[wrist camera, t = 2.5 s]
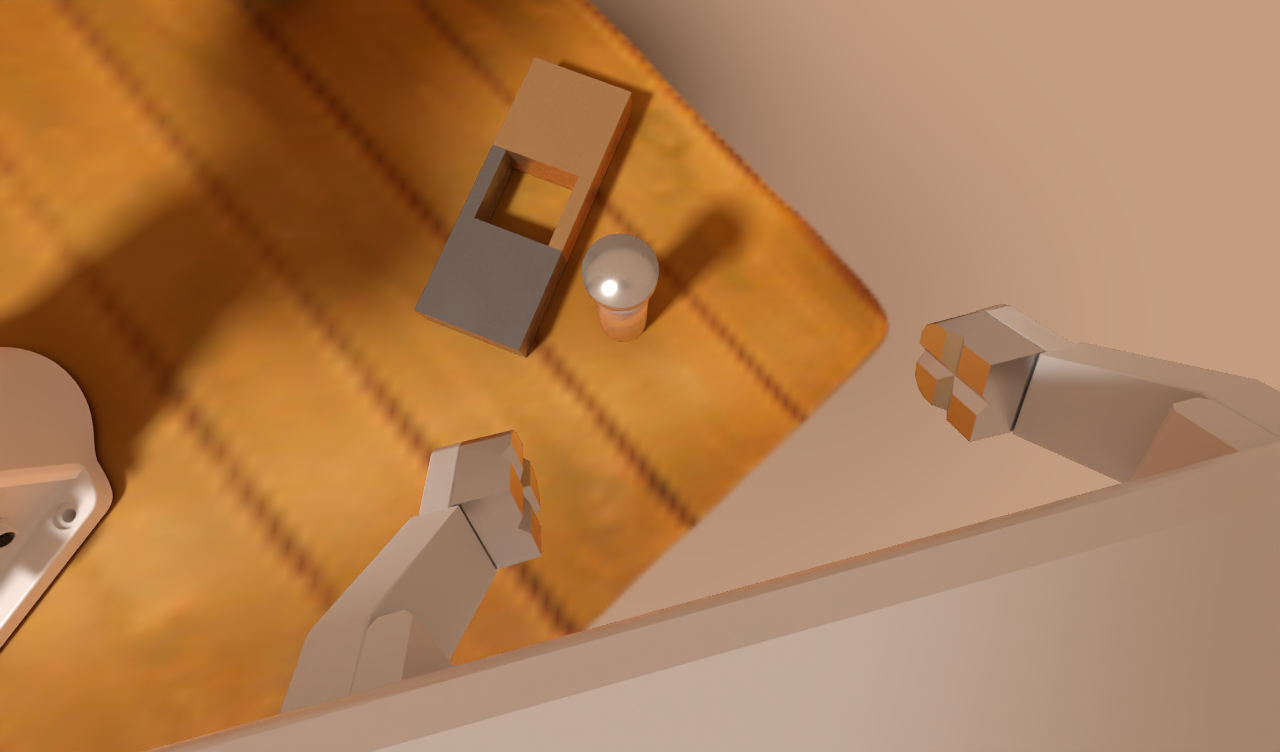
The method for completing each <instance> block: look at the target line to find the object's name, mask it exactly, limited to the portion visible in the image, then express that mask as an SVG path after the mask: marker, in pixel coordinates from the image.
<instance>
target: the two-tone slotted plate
mask: <svg viewBox="0 0 1280 752" xmlns="http://www.w3.org/2000/svg"><path fill="white" fill-rule="evenodd" d="M631 114H632V112H631V92H630V91H627V90H624V89H622V88H619V87H616V86H613V85H611V84H608V83H605V82H602V81H599V80H597V79H594V78H591V77H588V76H586V75H583V74H580V73H577V72H575V71H572V70H569V69H566V68H563V67H561V66H558V65H555V64H552V63H550V62H547V61H544V60H541V59H538V58H536V57H534V59H533V62H532V64H531V66H530V68H529V70H528V72H527V74H526V76H525V78H524V80H523V83H522V85H521V87H520V89H519V91H518V93H517V95H516V97H515V99H514V101H513V104H512V106H511V108H510V110H509V112H508V114H507V116H506V118H505V120H504V122H503V125H502V127H501V129H500V131H499V133H498V135H497V137H496V139H495V141H494V144H493V146H492V148H491V150H490V152H489V154H488V156H487V158H486V160H485V162H484V165H483V167H482V169H481V171H480V173H479V175H478V177H477V179H476V181H475V183H474V186H473V188H472V190H471V192H470V194H469V196H468V198H467V200H466V202H465V204H464V207H463V209H462V211H461V213H460V215H459V217H458V219H457V221H456V223H455V225H454V228H453V230H452V232H451V234H450V236H449V238H448V240H447V242H446V244H445V247H444V249H443V251H442V253H441V255H440V257H439V259H438V261H437V263H436V265H435V268H434V270H433V272H432V274H431V276H430V278H429V280H428V282H427V284H426V286H425V289H424V291H423V293H422V295H421V297H420V299H419V301H418V303H417V305H416V307H415V311H416V312H418V313H419V314H421V315H422V316H424V317H425V318H426V319H428V320H430V321H433V322H435V323H438V324H440V325H443V326H446V327H448V328H451V329H453V330H456V331H458V332H461V333H464V334H466V335H469V336H471V337H474V338H476V339H479V340H482V341H484V342H487V343H489V344H492V345H494V346H497V347H500V348H502V349H505V350H507V351H510V352H512V353H515V354H518V355H520V356H523V357H525V358H526V356H527V354H528V352H529V350H530V347H531V345H532V343H533V340H534V338H535V336H536V333H537V331H538V329H539V326H540V324H541V322H542V320H543V317H544V315H545V313H546V310H547V308H548V306H549V303H550V301H551V299H552V296H553V294H554V292H555V290H556V287H557V285H558V283H559V280H560V278H561V276H562V273H563V271H564V269H565V266H566V264H567V262H568V260H569V257H570V255H571V253H572V250H573V248H574V246H575V243H576V241H577V239H578V236H579V234H580V232H581V230H582V227H583V225H584V223H585V220H586V218H587V216H588V213H589V211H590V209H591V206H592V204H593V202H594V200H595V197H596V195H597V193H598V190H599V188H600V186H601V183H602V181H603V179H604V176H605V174H606V172H607V170H608V167H609V165H610V163H611V160H612V158H613V156H614V153H615V151H616V149H617V146H618V144H619V142H620V140H621V137H622V135H623V133H624V130H625V128H626V126H627V123H628V121H629V119H630V116H631ZM514 169H517V170H519V171H522V172H525V173H527V174H530V175H533V176H536V177H538V178H541V179H544V180H546V181H549V182H552V183H554V184H557V185H560V186H562V187H565V188H568V189H571V190H573V191H572V193H571V195H570V197H569V200H568V202H567V204H566V207H565V209H564V211H563V213H562V216H561V218H560V220H559V222H558V225H557V227H556V229H555V231H554V234H553V236H552V238H551V240H550V243H549V245H548V246H547V245H545V244H542V243H539V242H537V241H534V240H531V239H529V238H526V237H523V236H521V235H518V234H516V233H513V232H510V231H508V230H505V229H502V228H500V227H497V226H494V225H492V224H489V221H490V219H491V217H492V215H493V213H494V211H495V209H496V206H497V204H498V202H499V200H500V198H501V196H502V193H503V191H504V189H505V187H506V185H507V183H508V181H509V178H510V176H511V174H512V172H513V170H514Z"/></svg>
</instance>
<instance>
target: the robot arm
mask: <svg viewBox="0 0 1280 752" xmlns="http://www.w3.org/2000/svg"><path fill="white" fill-rule="evenodd" d="M920 344H921V345H922V346H923V347H924V349H925V352H924V353H923V354H922V355H921V357H920V358H919V359H918V360H917V363H916V372H915V377H916V381H917V385H918V388H919V390H920V392H921V393H922V395H923V397H924V398H925V399H926V400H927V401H928V402H929V403H930V404H931V405H933V406H935V407H938V408H941V409H944V410H947V420H948V422H950V423H951V424H952V425H953V426H954V427H955V428H956V429H957V430H958V431H959V432H960V433H961V434H962V435H963V436H964V437H965V438H966V439H967V440H968V441H969V442H972V441H976V440H980V439H984V438H989V437H993V436H996V435H1001V434H1005V433H1009V432H1013V434H1014V435H1016V436H1019V437H1021V438H1023V439H1025V440H1028V441H1030V442H1032V443H1035V444H1037V445H1039V446H1042V447H1043V448H1046V449H1048V450H1050V451H1052V452H1054V453H1057V454H1059V455H1061V456H1064V457H1066V458H1068V459H1070V460H1072V461H1075V462H1077V463H1079V464H1081V465H1084V466H1086V467H1088V468H1090V469H1092V470H1095V471H1097V472H1099V473H1102V474H1104V475H1106V476H1108V477H1110V478H1113V479H1115V480H1117V481H1119V482H1121V484H1117V485H1114V486H1110V487H1106V488H1103V489H1099V490H1095V491H1092V492H1089V493H1084V494H1081V495H1077V496H1074V497H1070V498H1066V499H1063V500H1059V501H1056V502H1052V503H1048V504H1044V505H1041V506H1037V507H1034V508H1030V509H1026V510H1023V511H1019V512H1016V513H1012V514H1008V515H1004V516H1001V517H997V518H994V519H990V520H986V521H983V522H979V523H975V524H972V525H968V526H965V527H961V528H957V529H954V530H950V531H946V532H943V533H939V534H935V535H932V536H929V537H924V538H921V539H917V540H914V541H910V542H906V543H903V544H899V545H895V546H892V547H888V548H884V549H881V550H877V551H873V552H870V553H866V554H862V555H859V556H855V557H851V558H848V559H845V560H840V561H837V562H833V563H829V564H826V565H822V566H818V567H815V568H811V569H808V570H804V571H800V572H797V573H793V574H789V575H786V576H782V577H778V578H775V579H771V580H768V581H764V582H760V583H757V584H753V585H749V586H745V587H742V588H738V589H735V590H731V591H727V592H724V593H720V594H716V595H713V596H709V597H705V598H702V599H698V600H694V601H691V602H687V603H683V604H680V605H676V606H673V607H669V608H666V609H661V610H658V611H654V612H651V613H647V614H643V615H640V616H636V617H633V618H629V619H626V620H622V621H618V622H614V623H610V624H607V625H603V626H600V627H596V628H592V629H589V630H585V631H581V632H578V633H574V634H570V635H567V636H563V637H559V638H556V639H552V640H548V641H545V642H541V643H537V644H534V645H530V646H527V647H523V648H519V649H516V650H512V651H508V652H505V653H501V654H497V655H494V656H490V657H486V658H483V659H479V660H475V661H472V662H468V663H465V664H461V665H457V666H454V665H453V664H452V663H451V661H450V658H451V656H452V654H453V653H454V651H455V649H456V647H457V645H458V643H459V642H460V640H461V638H462V636H463V634H464V632H465V630H466V629H467V627H468V625H469V623H470V621H471V619H472V618H473V616H474V614H475V612H476V610H477V608H478V607H479V605H480V603H481V601H482V599H483V597H484V596H485V594H486V592H487V590H488V588H489V586H490V585H491V583H492V581H493V579H494V577H495V575H496V573H497V571H496V570H497V569H500V568H503V567H507V566H510V565H513V564H517V563H520V562H524V561H527V560H530V559H534V558H537V557H540V556H542V550H541V526H540V524H539V522H538V519H537V517H536V513H537V512H538V510H539V509H540V496H539V490H538V485H537V480H536V477H535V474H534V470H533V468H532V466H531V463H530V461H528V460H526V459H524V458H523V444H522V442H521V440H520V438H519V436H518V434H517V432H516V431H514V430H511V431H507V432H502V433H498V434H494V435H489V436H485V437H481V438H476V439H472V440H468V441H464V442H462V443H456V444H452V445H448V446H444V447H440V448H436V449H435V450H434V451H433V452H432V454H431V458H430V463H429V468H428V473H427V478H426V483H425V488H424V492H423V497H422V502H421V507H420V512H419V516H415V517H411V518H410V519H409V520H408V521H407V522H406V524H405V525H404V526H403V527H402V528H401V529H400V530H399V531H398V532H397V534H396V535H395V536H394V537H393V538H392V539H391V540H390V541H389V543H388V544H387V545H386V546H385V547H384V548H383V549H382V550H381V552H380V553H379V554H378V555H377V556H376V557H375V558H374V559H373V561H372V562H371V563H370V564H369V565H368V566H367V567H366V568H365V570H364V571H363V572H362V573H361V574H360V575H359V576H358V577H357V578H356V580H355V581H354V582H353V583H352V584H351V585H350V586H349V587H348V589H347V590H346V591H345V592H344V593H343V594H342V595H341V596H340V598H339V599H338V600H337V601H336V602H335V603H334V604H333V605H332V607H331V608H330V609H329V610H328V611H327V612H326V613H325V614H324V616H323V617H322V618H321V619H320V620H319V621H318V622H317V623H316V624H315V626H314V627H313V628H312V629H311V630H310V631H309V632H308V634H307V637H306V640H305V642H304V645H303V648H302V651H301V654H300V657H299V660H298V663H297V666H296V668H295V671H294V674H293V677H292V680H291V683H290V686H289V689H288V692H287V695H286V697H285V700H284V703H283V706H282V709H281V712H280V714H279V715H275V716H271V717H268V718H264V719H260V720H257V721H253V722H250V723H246V724H242V725H239V726H235V727H231V728H228V729H224V730H220V731H217V732H213V733H210V734H206V735H202V736H199V737H195V738H191V739H188V740H184V741H181V742H177V743H173V744H170V745H166V746H162V747H159V748H155V749H151V750H148V751H144V752H1280V391H1278V390H1276V389H1274V388H1272V387H1270V386H1268V385H1266V384H1264V383H1262V382H1260V381H1258V380H1255V379H1251V378H1246V377H1242V376H1237V375H1232V374H1228V373H1223V372H1218V371H1214V370H1209V369H1204V368H1199V367H1195V366H1190V365H1185V364H1181V363H1176V362H1171V361H1167V360H1162V359H1157V358H1153V357H1148V356H1143V355H1139V354H1134V353H1129V352H1125V351H1120V350H1115V349H1111V348H1106V347H1101V346H1097V345H1092V344H1087V343H1079V344H1073V343H1072V342H1070V341H1068V340H1067V339H1065V338H1063V337H1062V336H1060V335H1058V334H1057V333H1055V332H1054V331H1052V330H1050V329H1048V328H1047V327H1045V326H1044V325H1042V324H1040V323H1039V322H1037V321H1035V320H1034V319H1032V318H1030V317H1029V316H1027V315H1026V314H1024V313H1022V312H1021V311H1019V310H1017V309H1016V308H1014V307H1012V306H1010V305H1005V304H999V305H996V306H992V307H989V308H985V309H982V310H978V311H976V312H974V313H969V314H966V315H962V316H958V317H954V318H950V319H946V320H943V321H939V322H935V323H931V324H927V325H926V326H925V328H924V330H923V331H922V335H921V340H920ZM112 497H113V496H112V489H111V486H110V483H109V481H108V479H107V477H106V475H105V473H104V472H103V470H102V468H101V466H100V465H99V463H98V461H97V458H96V454H95V447H94V432H93V423H92V417H91V413H90V410H89V406H88V404H87V401H86V399H85V397H84V395H83V393H82V391H81V389H80V388H79V386H78V385H77V383H76V382H75V381H74V379H73V378H72V377H71V376H70V375H69V374H68V373H67V372H66V371H65V370H64V369H63V368H62V367H60V366H59V365H58V364H56V363H55V362H53V361H52V360H50V359H48V358H46V357H44V356H42V355H40V354H37V353H35V352H32V351H28V350H24V349H19V348H12V347H0V648H1V646H2V645H3V644H4V643H5V641H6V640H7V639H8V637H9V636H10V635H11V634H12V632H13V631H14V630H15V628H16V627H17V626H18V625H19V623H20V622H21V621H22V619H23V618H24V617H25V616H26V614H27V613H28V612H29V610H30V609H31V608H32V607H33V605H34V604H35V603H36V601H37V600H38V599H39V598H40V596H41V595H42V594H43V593H44V591H45V590H46V589H47V587H48V586H49V585H50V584H51V582H52V581H53V580H54V578H55V577H56V576H57V575H58V573H59V572H60V571H61V569H62V568H63V567H64V566H65V564H66V563H67V562H68V560H69V559H70V558H71V557H72V555H73V554H74V553H75V551H76V550H77V549H78V548H79V546H80V545H81V544H82V543H83V541H84V540H85V539H86V537H87V536H88V535H89V534H90V532H91V531H92V530H93V528H94V527H95V526H96V525H97V523H98V522H99V521H100V519H101V518H102V517H103V516H104V514H105V513H106V512H107V510H108V509H109V507H110V505H111V503H112ZM75 512H76V517H75V518H74V514H75Z"/></svg>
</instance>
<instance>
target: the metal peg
mask: <svg viewBox="0 0 1280 752" xmlns="http://www.w3.org/2000/svg"><path fill="white" fill-rule="evenodd" d="M658 275H659V266H658V261H657V258H656V255H655V253H654V252H653V250H652V249H651V247H650V246H649V245H648V244H647V243H646V242H644V241H643V240H641V239H640V238H638V237H635V236H633V235H629V234H612V235H608V236H605V237H603V238H601V239H599V240H598V241H596V242H595V243H594V244H593V245H592V246H591V247H590V248H589V250H588V251H587V253H586V255H585V257H584V260H583V263H582V277H583V281H584V285H585V288H586V290H587V292H588V294H589V295H590V297H591V298H592V299H593V300H594V301H595V302H596V303H597V308H598V312H599V316H600V321H601V325H602V328H603V330H604V332H605V333H606V334H607V335H608V336H609V337H610V338H611V339H613V340H615V341H619V342H629V341H632V340H634V339H636V338H638V337H639V336H640V335H641V334H642V332H643V331H644V329H645V326H646V321H647V310H648V300H649V298H650V297H651V296H652V294H653V293H654V291H655V289H656V286H657V282H658Z"/></svg>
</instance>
